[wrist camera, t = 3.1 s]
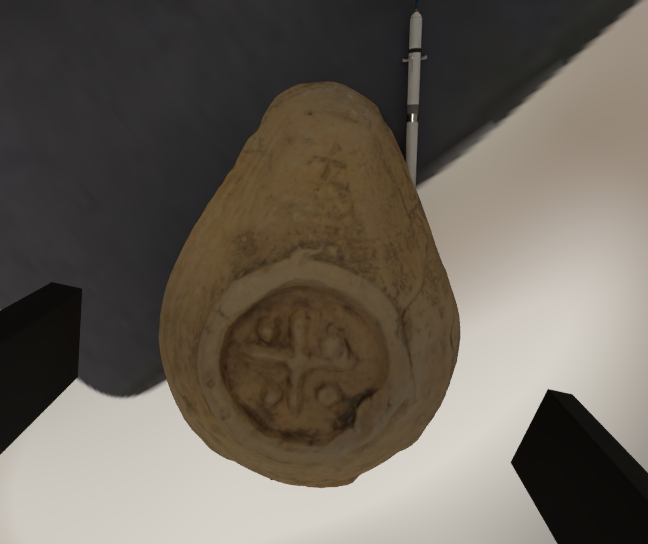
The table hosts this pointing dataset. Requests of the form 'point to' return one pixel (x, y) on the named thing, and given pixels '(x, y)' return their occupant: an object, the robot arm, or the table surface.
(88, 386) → the table surface
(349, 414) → the oil lamp
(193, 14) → the table surface
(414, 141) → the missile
